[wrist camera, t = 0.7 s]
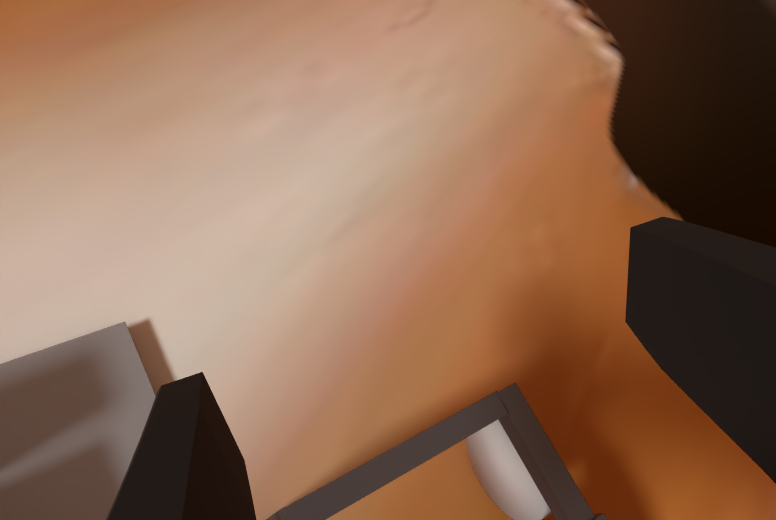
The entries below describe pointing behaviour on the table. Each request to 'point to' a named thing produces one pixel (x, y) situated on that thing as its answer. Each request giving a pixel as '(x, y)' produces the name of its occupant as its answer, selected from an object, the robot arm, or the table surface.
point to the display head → (71, 426)
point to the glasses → (487, 456)
